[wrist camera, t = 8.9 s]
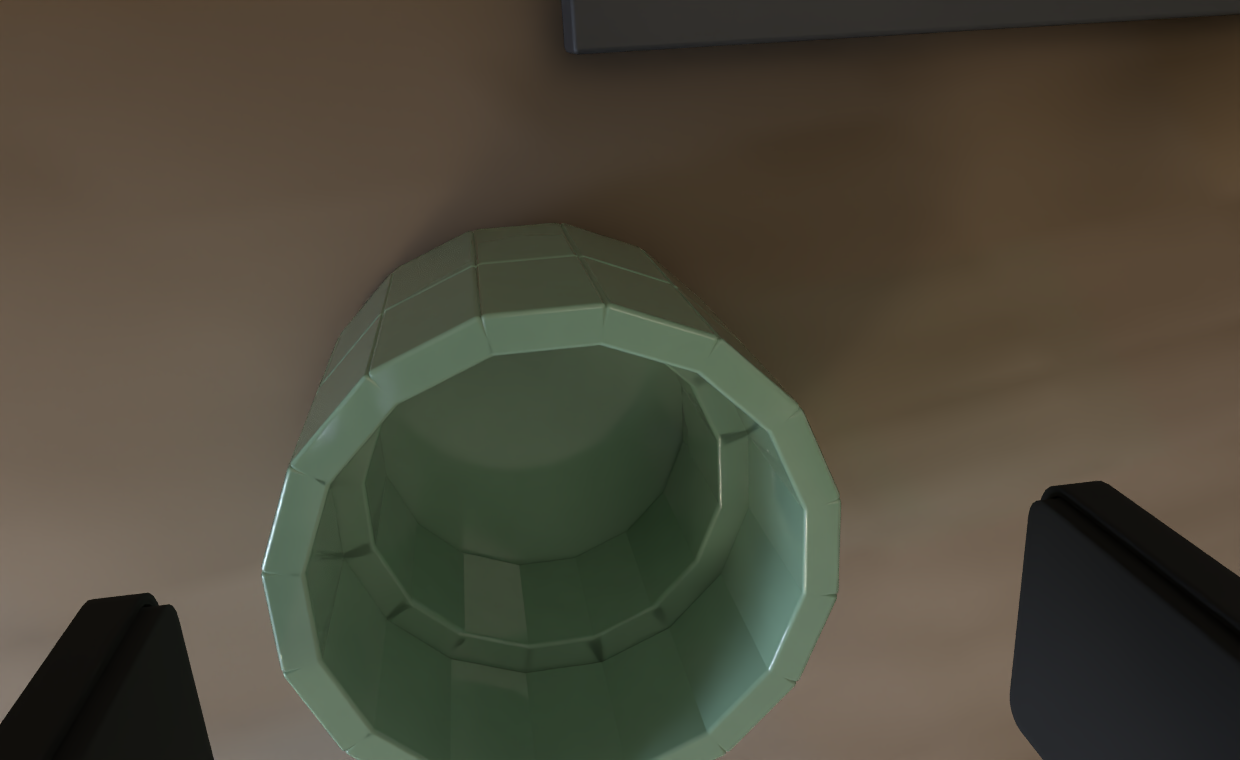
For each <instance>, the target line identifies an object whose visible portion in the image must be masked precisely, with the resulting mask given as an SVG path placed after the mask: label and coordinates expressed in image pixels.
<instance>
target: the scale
mask: <svg viewBox="0 0 1240 760" xmlns="http://www.w3.org/2000/svg"><path fill="white" fill-rule="evenodd" d="M561 3H562V18H563V32H564V46H565V50H566V52H568V53H572V54H593V53H610V52H626V51H643V50H659V49H676V48H692V47H709V46H725V45H742V44H758V43H775V42H791V41H808V40H824V39H841V38H857V37H874V36H890V35H907V34H923V33H940V32H956V31H972V30H989V29H1005V28H1022V27H1038V26H1055V25H1071V24H1088V23H1104V22H1121V21H1137V20H1154V19H1170V18H1187V17H1203V16H1220V15H1236V14H1240V0H561Z"/></svg>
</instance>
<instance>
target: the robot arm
mask: <svg viewBox="0 0 1240 760" xmlns="http://www.w3.org/2000/svg"><path fill="white" fill-rule="evenodd" d="M1010 705H1011V711H1012V714H1013V717H1014V720H1015V722H1016V724H1017V726H1018V728H1019V729H1020V731H1021V732H1022V733H1023V735H1024V736H1025V737H1026V739H1027V740H1028V741H1029V742H1030V744H1031V745H1032V746H1033V747H1034V749H1035V750H1036V751H1037V753H1038V754H1039V755H1040V756H1041V758H1042V759H1043V760H1240V577H1239V576H1237V575H1236V574H1235V573H1233V572H1232V571H1230V570H1229V569H1227V568H1226V567H1225V566H1223V565H1222V564H1220V563H1219V562H1218V561H1216V560H1215V559H1213V558H1212V557H1210V556H1209V555H1208V554H1206V553H1205V552H1203V551H1202V550H1201V549H1199V548H1198V547H1196V546H1195V545H1194V544H1192V543H1191V542H1189V541H1188V540H1186V539H1185V538H1184V537H1182V536H1181V535H1179V534H1178V533H1177V532H1175V531H1174V530H1172V529H1171V528H1169V527H1168V526H1167V525H1165V524H1164V523H1162V522H1161V521H1160V520H1158V519H1157V518H1155V517H1154V516H1153V515H1151V514H1150V513H1148V512H1147V511H1145V510H1144V509H1143V508H1141V507H1140V506H1138V505H1137V504H1136V503H1134V502H1133V501H1131V500H1130V499H1129V498H1127V497H1126V496H1124V495H1123V494H1121V493H1120V492H1119V491H1117V490H1116V489H1114V488H1113V487H1112V486H1110V485H1109V484H1107V483H1104V482H1102V481H1092V482H1084V483H1075V484H1067V485H1058V486H1051V487H1049V488H1048V489H1046V490H1045V492H1044V494H1043V496H1042V498H1041V500H1039V501H1036V502H1034V503H1033V504H1032V506H1031V508H1030V511H1029V515H1028V524H1027V534H1026V544H1025V553H1024V563H1023V572H1022V582H1021V591H1020V601H1019V611H1018V620H1017V630H1016V639H1015V649H1014V659H1013V668H1012V678H1011V687H1010ZM0 760H214V758H213V754H212V750H211V746H210V742H209V738H208V734H207V730H206V726H205V722H204V718H203V714H202V710H201V706H200V702H199V698H198V694H197V690H196V686H195V682H194V678H193V674H192V670H191V666H190V662H189V658H188V654H187V650H186V646H185V642H184V638H183V634H182V630H181V626H180V622H179V618H178V615H177V612H176V610H175V609H174V607H173V606H172V605H170V604H168V605H160V606H159V605H158V602H157V601H156V599H155V598H154V596H153V595H151V594H150V593H142V594H133V595H125V596H116V597H108V598H99V599H92V600H88V601H87V602H86V603H85V604H84V605H83V606H82V607H81V609H80V610H79V612H78V613H77V615H76V616H75V617H74V619H73V620H72V622H71V623H70V625H69V626H68V628H67V629H66V630H65V632H64V633H63V635H62V636H61V638H60V639H59V640H58V642H57V643H56V645H55V646H54V648H53V649H52V651H51V652H50V653H49V655H48V656H47V658H46V659H45V661H44V662H43V664H42V665H41V666H40V668H39V669H38V671H37V672H36V674H35V675H34V676H33V678H32V679H31V681H30V682H29V684H28V685H27V687H26V688H25V689H24V691H23V692H22V694H21V695H20V697H19V698H18V700H17V701H16V702H15V704H14V705H13V707H12V708H11V710H10V711H9V712H8V714H7V715H6V717H5V718H4V720H3V721H2V723H1V724H0Z"/></svg>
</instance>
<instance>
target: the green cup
mask: <svg viewBox="0 0 1240 760" xmlns="http://www.w3.org/2000/svg"><path fill="white" fill-rule="evenodd" d="M840 520H841V501H840V494H839V491H838V489H837V486H836V484H835V482H834V480H833V477H832V475H831V473H830V470H829V468H828V466H827V464H826V461H825V459H824V457H823V454H822V452H821V450H820V448H819V445H818V443H817V441H816V438H815V436H814V434H813V432H812V429H811V427H810V425H809V422H808V420H807V418H806V416H805V413H804V411H803V410H802V409H801V408H800V406H799V405H798V403H797V402H796V401H795V400H794V399H793V398H792V396H791V395H790V394H789V393H788V392H787V391H786V390H785V389H784V388H783V387H782V386H781V385H780V384H779V383H778V381H777V380H776V379H775V378H774V377H773V376H772V375H771V374H770V373H769V372H768V371H767V370H766V369H765V368H764V366H763V365H762V364H761V363H760V362H759V361H758V360H757V359H756V358H755V357H754V356H753V355H752V354H751V353H750V352H749V350H748V349H747V348H746V347H745V346H744V345H743V344H742V343H741V342H740V341H739V340H738V339H737V337H736V336H735V335H734V334H733V333H732V332H731V331H730V330H729V329H728V328H727V327H726V326H725V325H724V324H723V323H722V321H721V320H720V319H719V318H718V317H717V316H716V315H715V314H714V313H713V312H712V311H711V310H710V309H709V308H708V306H707V305H706V304H705V303H704V302H703V301H702V300H701V299H700V298H699V297H698V296H696V295H695V294H694V293H693V292H692V291H691V290H690V289H688V288H687V287H686V286H685V285H684V284H683V283H682V282H680V281H679V280H678V279H677V278H676V277H675V276H674V275H672V274H671V273H670V272H669V271H668V270H667V269H666V268H664V267H663V266H662V265H661V264H660V263H659V262H658V261H656V260H655V259H654V258H653V257H652V256H651V255H650V254H648V253H647V252H646V251H645V250H643V249H642V250H641V249H640V248H639V247H637V246H634V245H631V244H628V243H624V242H621V241H618V240H615V239H612V238H609V237H606V236H603V235H599V234H596V233H593V232H590V231H587V230H584V229H581V228H578V227H575V226H571V225H568V224H565V223H564V224H561V225H560V224H558V223H546V224H534V225H523V226H511V227H499V228H487V229H477V230H475V231H474V232H472V231H468V232H466V233H464V234H462V235H460V236H458V237H456V238H454V239H453V240H451V241H449V242H447V243H445V244H443V245H441V246H439V247H437V248H435V249H433V250H431V251H429V252H427V253H425V254H423V255H421V256H419V257H418V258H416V259H414V260H412V261H410V262H408V263H406V264H404V265H402V266H400V267H398V268H396V269H395V271H394V273H392V274H390V275H389V276H388V277H387V278H386V279H385V281H384V282H383V283H382V284H381V285H380V287H379V288H378V289H377V290H376V292H375V293H374V294H373V295H372V296H371V298H370V299H369V300H368V301H367V302H366V304H365V305H364V306H363V307H362V308H361V310H360V311H359V312H358V313H357V315H356V316H355V317H354V318H353V319H352V321H351V322H350V323H349V324H348V325H347V327H346V328H345V329H344V330H343V331H342V333H341V335H340V337H339V338H338V339H337V342H336V344H335V347H334V349H333V352H332V355H331V357H330V360H329V362H328V365H327V367H326V370H325V373H324V375H323V378H322V380H321V383H320V385H319V388H318V391H317V394H316V396H315V399H314V401H313V404H312V406H311V409H310V412H309V414H308V417H307V419H306V422H305V424H304V427H303V430H302V432H301V435H300V437H299V440H298V443H297V445H296V448H295V450H294V453H293V455H292V458H291V461H290V463H289V466H288V468H287V472H286V475H285V479H284V483H283V487H282V490H281V494H280V498H279V502H278V506H277V509H276V513H275V517H274V521H273V524H272V528H271V532H270V536H269V539H268V543H267V547H266V551H265V554H264V558H263V562H262V566H261V567H262V574H261V578H262V582H263V587H264V592H265V597H266V601H267V606H268V611H269V616H270V620H271V625H272V630H273V634H274V639H275V644H276V649H277V653H278V658H279V663H280V667H281V670H282V671H283V674H284V677H285V678H286V679H287V681H288V682H289V683H290V685H291V686H292V687H293V688H294V690H295V691H296V692H297V693H298V695H299V696H300V697H301V699H302V700H303V701H304V702H305V704H306V705H307V706H308V708H309V709H310V710H311V711H312V713H313V714H314V715H315V716H316V718H317V719H318V720H319V722H320V723H321V724H322V725H323V727H324V728H325V729H326V731H327V732H328V733H329V734H330V736H331V737H332V738H333V739H334V741H335V742H336V743H337V745H338V746H339V747H340V748H341V750H343V751H346V753H347V754H348V755H350V756H352V757H353V758H355V759H357V760H716V759H718V758H720V757H722V756H724V755H725V754H726V751H727V752H728V751H730V750H731V749H732V748H733V747H734V746H735V745H736V744H737V743H738V742H739V741H740V740H741V739H742V738H743V737H744V736H745V735H746V734H747V733H748V732H749V731H750V730H751V729H752V728H753V727H754V726H755V725H756V724H757V723H758V722H759V721H760V720H761V719H762V718H763V717H764V716H765V715H766V714H767V713H768V712H769V711H770V710H771V709H772V708H773V707H774V706H775V705H776V704H777V703H778V702H779V701H780V700H781V699H782V698H783V697H784V696H785V695H786V694H787V693H788V692H789V691H790V690H791V689H792V688H793V687H794V686H795V684H796V681H798V680H799V679H800V677H801V675H802V673H803V671H804V668H805V666H806V664H807V662H808V660H809V658H810V655H811V653H812V651H813V649H814V647H815V645H816V642H817V640H818V638H819V636H820V634H821V632H822V629H823V627H824V625H825V623H826V621H827V619H828V616H829V614H830V612H831V610H832V608H833V605H834V603H835V601H836V599H837V593H838V588H839V554H840Z"/></svg>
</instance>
